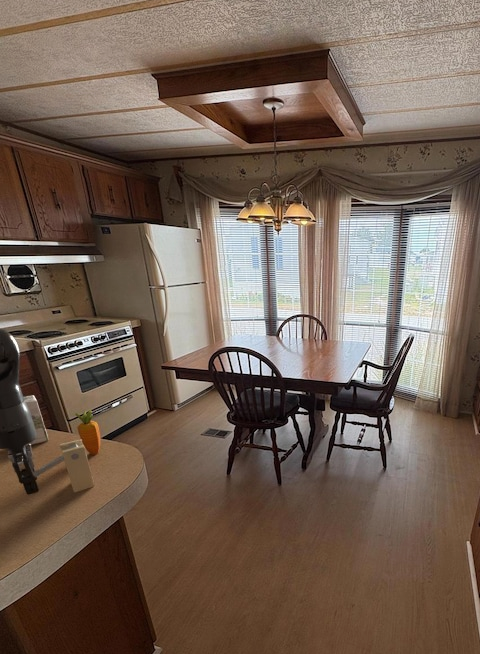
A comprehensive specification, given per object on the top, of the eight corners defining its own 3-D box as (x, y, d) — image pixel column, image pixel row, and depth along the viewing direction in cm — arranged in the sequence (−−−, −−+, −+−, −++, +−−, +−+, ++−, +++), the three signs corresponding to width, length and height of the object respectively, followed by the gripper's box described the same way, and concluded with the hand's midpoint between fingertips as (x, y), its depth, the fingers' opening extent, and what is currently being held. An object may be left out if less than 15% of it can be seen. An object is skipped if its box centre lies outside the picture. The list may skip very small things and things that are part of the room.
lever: (30, 488, 78) (22, 481, 77) (29, 477, 82) (21, 471, 80) (84, 455, 84) (77, 449, 82) (81, 447, 87) (74, 441, 86)
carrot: (81, 460, 100) (68, 413, 94) (94, 451, 105) (83, 406, 99) (96, 462, 99) (84, 415, 94) (109, 453, 104) (98, 408, 98)
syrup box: (46, 434, 113) (33, 394, 107) (49, 441, 109) (36, 399, 104) (24, 440, 109) (9, 398, 104) (26, 447, 105) (11, 404, 100)
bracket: (67, 501, 83) (52, 456, 78) (63, 487, 88) (50, 444, 83) (104, 489, 88) (93, 446, 83) (99, 476, 93) (88, 435, 88)
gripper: (-13, 415, 77) (11, 478, 83) (-16, 440, 67) (12, 509, 73) (30, 407, 81) (49, 467, 88) (33, 430, 71) (55, 496, 78)
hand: (32, 486), depth 81 cm, fingers closed on lever, 5 cm apart
